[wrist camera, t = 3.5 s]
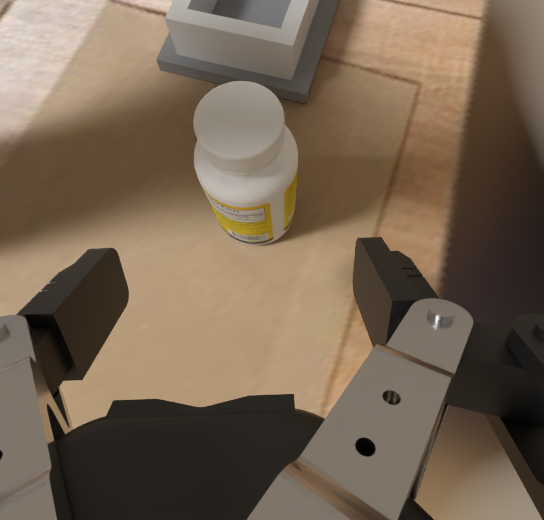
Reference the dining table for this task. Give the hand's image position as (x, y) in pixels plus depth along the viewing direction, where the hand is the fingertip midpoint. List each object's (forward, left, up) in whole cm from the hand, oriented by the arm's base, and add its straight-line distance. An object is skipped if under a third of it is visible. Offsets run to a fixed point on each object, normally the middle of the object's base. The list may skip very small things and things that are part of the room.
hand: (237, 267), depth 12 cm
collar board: (-7, +22, -11) cm, 25 cm away
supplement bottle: (-2, +7, -11) cm, 13 cm away
